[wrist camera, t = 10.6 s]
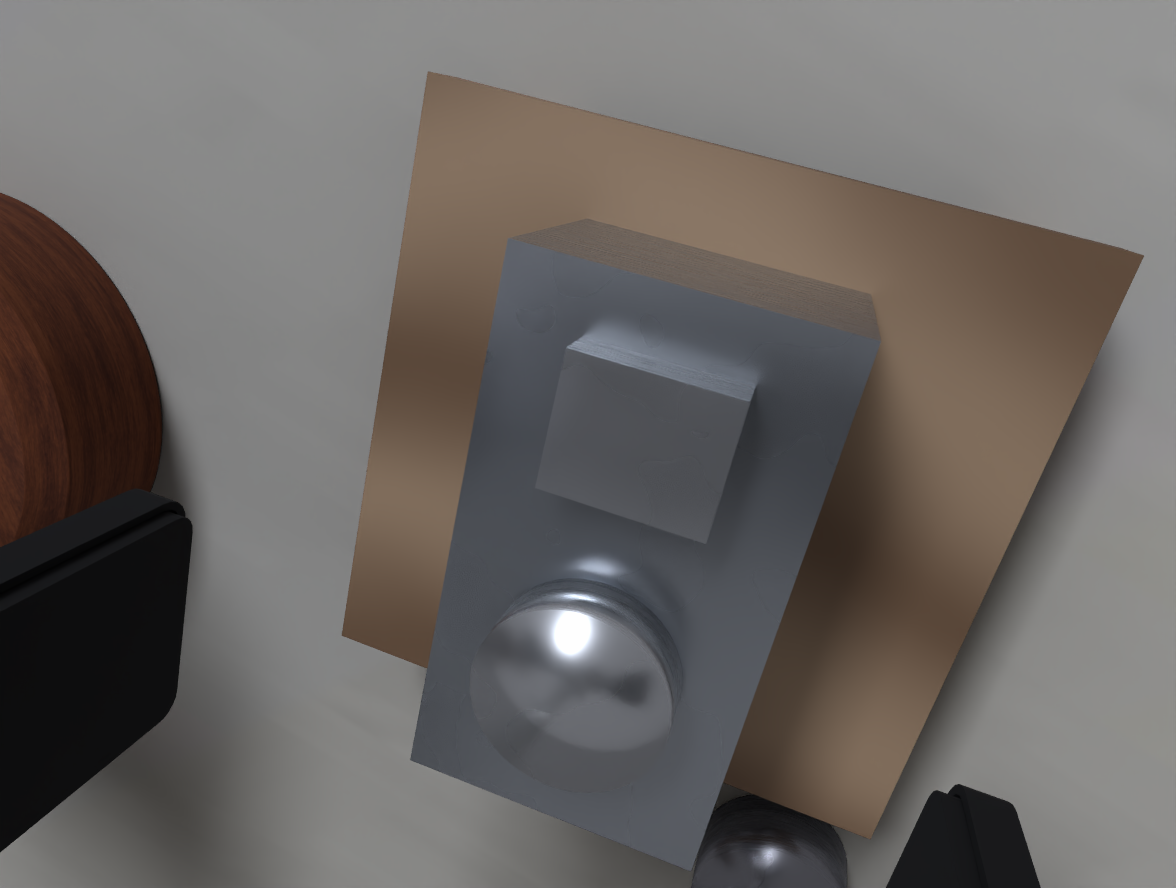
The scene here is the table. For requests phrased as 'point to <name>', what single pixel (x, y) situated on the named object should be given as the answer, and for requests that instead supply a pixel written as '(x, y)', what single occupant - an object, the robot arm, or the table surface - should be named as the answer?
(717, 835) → the dark grey round piece
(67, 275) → the music box
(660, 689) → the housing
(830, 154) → the table surface
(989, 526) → the stand
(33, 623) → the robot arm
